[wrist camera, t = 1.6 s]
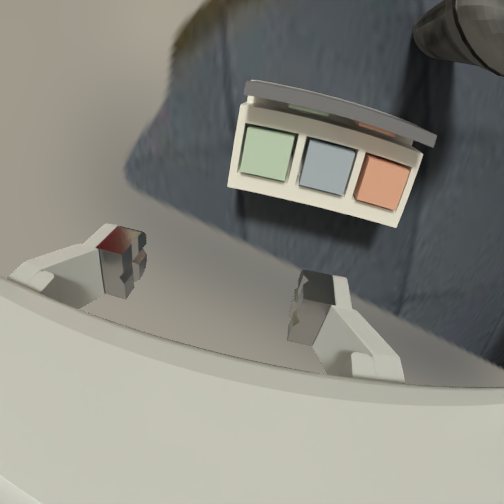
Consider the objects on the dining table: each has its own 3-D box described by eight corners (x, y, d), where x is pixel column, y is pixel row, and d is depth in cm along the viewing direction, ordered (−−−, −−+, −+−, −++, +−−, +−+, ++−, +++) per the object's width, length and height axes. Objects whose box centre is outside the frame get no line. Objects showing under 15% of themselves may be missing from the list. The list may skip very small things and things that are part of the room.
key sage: (294, 133, 24) (294, 137, 22) (285, 173, 26) (284, 181, 24) (251, 124, 24) (247, 128, 22) (244, 164, 26) (239, 171, 24)
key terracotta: (402, 164, 23) (409, 171, 22) (389, 201, 25) (395, 210, 24) (364, 152, 24) (369, 158, 22) (352, 190, 26) (356, 199, 24)
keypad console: (408, 121, 25) (442, 138, 18) (382, 203, 30) (403, 242, 23) (255, 79, 25) (238, 80, 19) (239, 168, 30) (220, 197, 23)
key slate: (351, 148, 24) (355, 153, 22) (339, 187, 26) (342, 195, 24) (309, 137, 24) (309, 141, 22) (299, 176, 26) (299, 184, 24)
